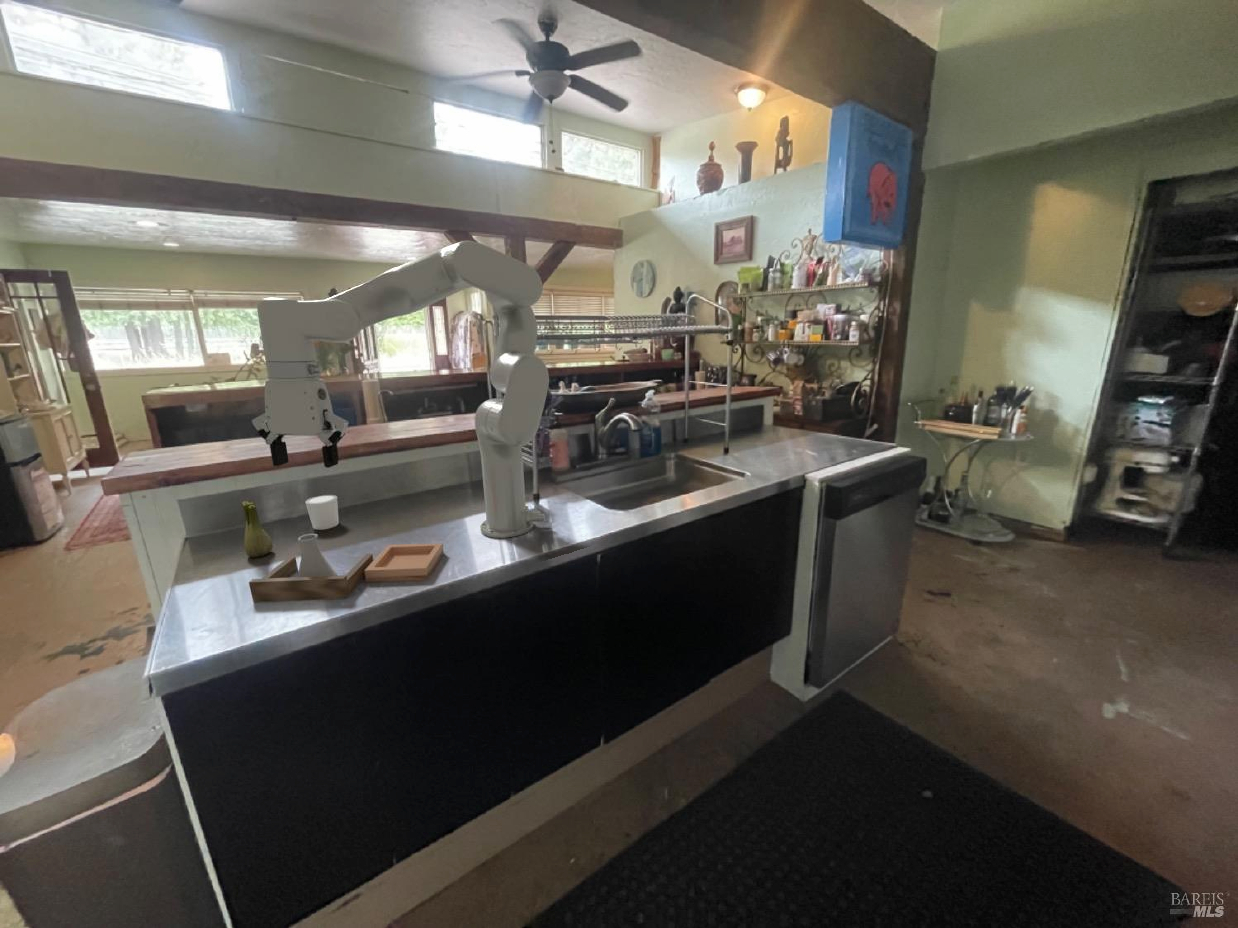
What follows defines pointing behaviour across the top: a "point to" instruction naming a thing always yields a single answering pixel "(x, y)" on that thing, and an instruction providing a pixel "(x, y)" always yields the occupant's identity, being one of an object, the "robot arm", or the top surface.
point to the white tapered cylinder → (323, 511)
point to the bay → (306, 583)
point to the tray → (404, 562)
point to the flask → (313, 558)
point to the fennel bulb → (255, 533)
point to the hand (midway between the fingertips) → (306, 465)
